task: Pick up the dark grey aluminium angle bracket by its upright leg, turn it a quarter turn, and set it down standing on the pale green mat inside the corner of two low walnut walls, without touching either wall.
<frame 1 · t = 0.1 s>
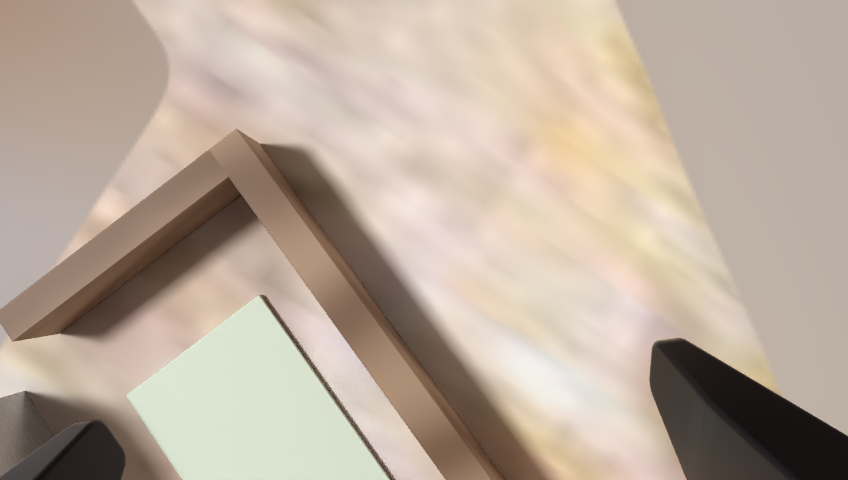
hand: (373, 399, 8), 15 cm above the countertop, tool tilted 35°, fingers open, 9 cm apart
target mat: (259, 439, 23), on the countertop
brown piece: (241, 413, 23), on the countertop
bracket: (37, 438, 24), on the countertop
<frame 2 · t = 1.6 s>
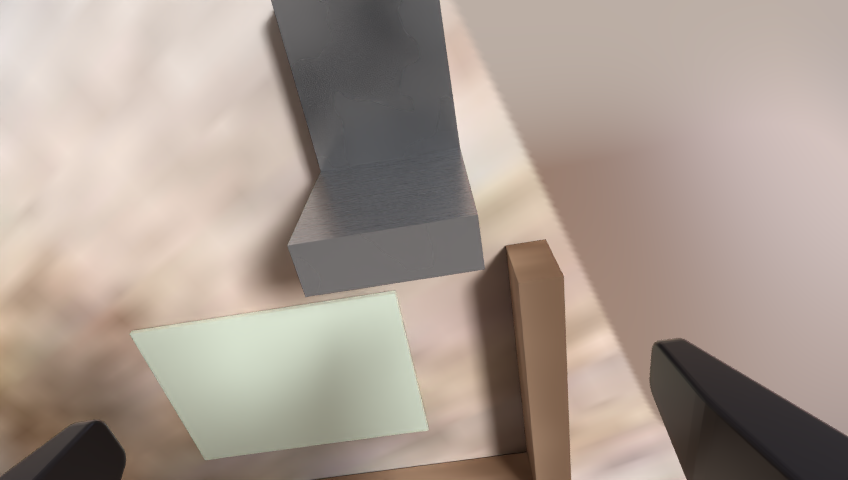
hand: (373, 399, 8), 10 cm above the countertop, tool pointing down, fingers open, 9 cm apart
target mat: (291, 382, 22), on the countertop
brown piece: (324, 377, 21), on the countertop
bracket: (395, 168, 17), on the countertop
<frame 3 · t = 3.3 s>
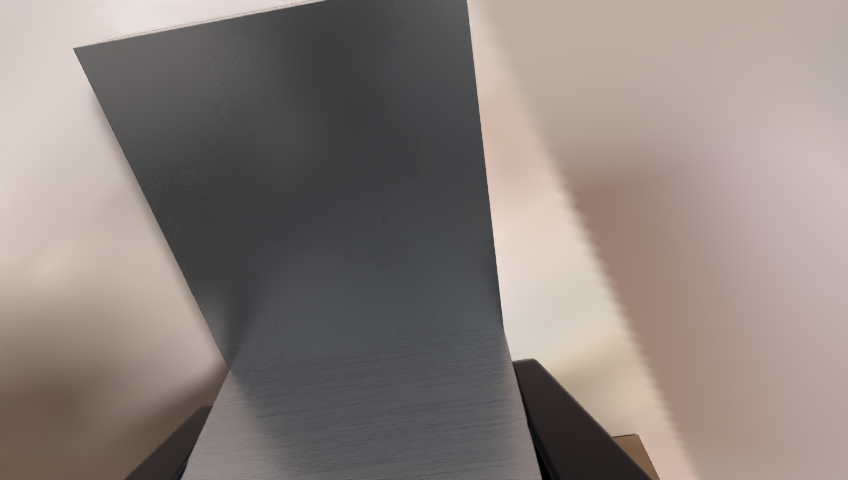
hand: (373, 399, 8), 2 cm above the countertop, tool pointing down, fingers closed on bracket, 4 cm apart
bracket: (378, 336, 9), on the countertop, touching gripper
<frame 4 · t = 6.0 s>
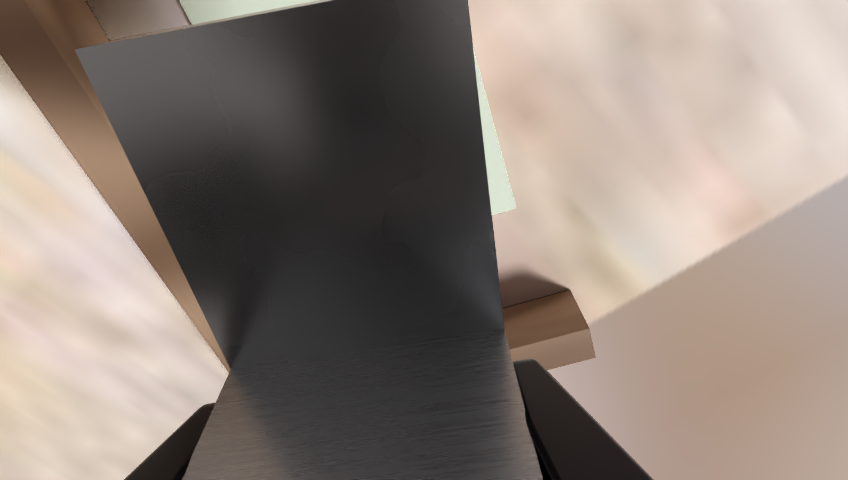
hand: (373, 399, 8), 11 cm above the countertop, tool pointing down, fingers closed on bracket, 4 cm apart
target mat: (361, 100, 16), on the countertop
brown piece: (377, 141, 17), on the countertop
bracket: (379, 336, 9), point 9 cm above the countertop, touching gripper
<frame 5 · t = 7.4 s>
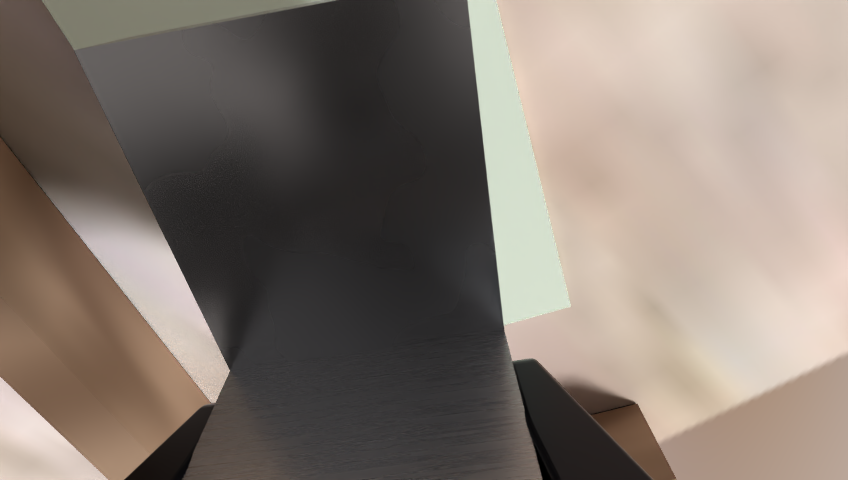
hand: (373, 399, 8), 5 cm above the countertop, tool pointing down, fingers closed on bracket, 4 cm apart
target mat: (346, 163, 11), on the countertop
brown piece: (371, 220, 12), on the countertop
bracket: (379, 337, 9), point 3 cm above the countertop, touching gripper
when the fingers open (3 cm above the countertop, at t = 8.5 s): bracket drops 1 cm, resting on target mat.
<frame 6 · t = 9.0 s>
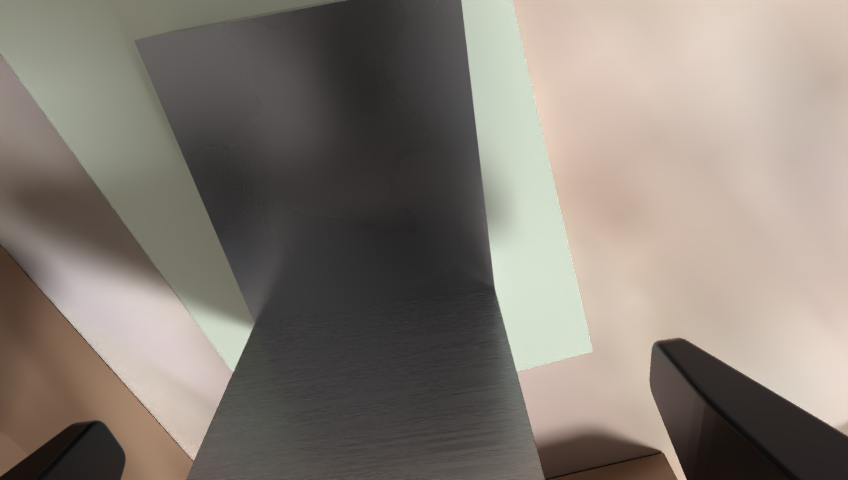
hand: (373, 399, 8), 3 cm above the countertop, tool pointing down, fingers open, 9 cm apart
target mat: (335, 193, 9), on the countertop
brown piece: (365, 256, 10), on the countertop
bracket: (384, 300, 10), resting on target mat
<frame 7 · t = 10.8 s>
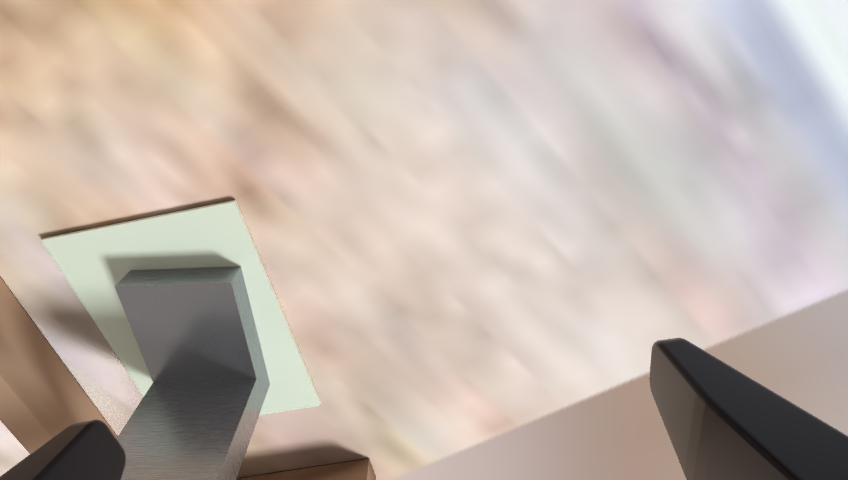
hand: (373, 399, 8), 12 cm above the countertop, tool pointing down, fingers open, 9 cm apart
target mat: (196, 328, 22), on the countertop
brown piece: (210, 354, 22), on the countertop
bracket: (218, 373, 23), resting on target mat
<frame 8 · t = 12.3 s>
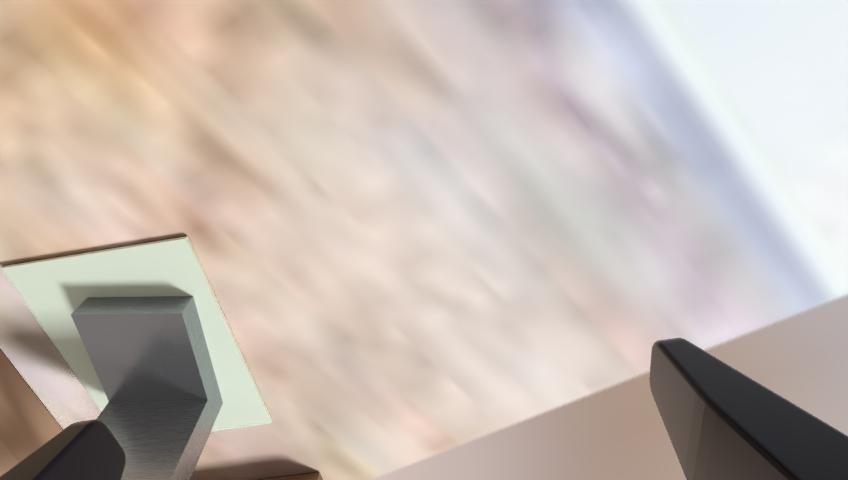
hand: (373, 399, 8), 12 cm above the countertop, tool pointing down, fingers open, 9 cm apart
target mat: (152, 351, 23), on the countertop
brown piece: (165, 374, 24), on the countertop
bracket: (173, 392, 24), resting on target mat
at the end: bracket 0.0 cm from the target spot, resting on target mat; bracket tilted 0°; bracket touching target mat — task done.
